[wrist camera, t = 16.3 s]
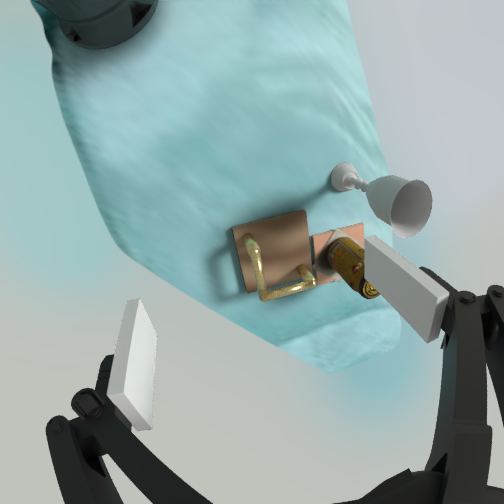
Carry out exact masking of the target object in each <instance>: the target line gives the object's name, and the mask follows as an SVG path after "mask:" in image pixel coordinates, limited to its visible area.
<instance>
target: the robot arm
mask: <svg viewBox="0 0 504 504" xmlns="http://www.w3.org/2000/svg"><path fill="white" fill-rule="evenodd" d="M33 1H35V2H36V3H38V4H39V5H41V6H43V7H44V8H46V9H47V10H49V11H50V12H52V13H53V14H55V15H56V16H58V19H59V23H60V27H61V30H62V32H63V33H64V35H65V36H66V37H67V38H68V39H69V40H70V41H72V42H73V43H75V44H76V45H78V46H81V47H83V48H88V49H103V48H108V47H112V46H115V45H117V44H120V43H122V42H124V41H126V40H128V39H129V38H131V37H132V36H134V35H135V34H136V33H138V32H139V31H140V30H141V29H142V28H143V27H144V26H145V25H146V24H147V23H148V21H149V20H150V18H151V17H152V15H153V13H154V11H155V9H156V6H157V2H158V0H33ZM364 245H365V274H364V278H365V279H366V280H367V281H368V282H369V283H370V284H371V285H372V286H373V287H374V288H375V289H376V290H377V291H378V292H379V293H380V294H381V295H382V296H383V297H384V298H385V299H386V300H387V301H388V302H389V303H390V304H391V305H392V307H393V308H394V309H395V310H396V311H397V312H398V313H399V314H400V315H401V316H402V317H403V318H404V319H405V320H406V321H407V322H408V323H409V324H410V325H411V326H412V328H413V329H414V330H415V331H416V332H417V333H418V334H419V335H420V336H421V337H422V338H423V340H424V341H425V342H426V343H429V342H431V341H433V340H435V339H437V338H438V337H439V333H440V329H442V330H443V331H444V332H445V335H444V339H443V342H442V345H441V349H442V348H443V368H442V381H441V392H440V400H439V408H438V416H437V422H436V429H435V434H434V440H433V445H432V450H431V454H430V457H429V460H428V462H427V464H426V467H425V470H424V471H417V472H411V471H410V469H409V468H408V469H407V470H405V471H403V472H401V473H399V474H397V475H395V476H393V477H391V478H389V479H387V480H385V481H384V482H382V483H381V484H380V485H378V486H377V487H376V488H375V489H373V490H372V491H371V492H369V493H368V494H366V495H365V496H364V497H362V498H361V499H358V500H353V501H348V502H341V503H334V504H504V489H502V488H497V487H493V486H488V485H487V480H488V473H489V466H490V456H491V446H492V445H491V444H492V427H491V426H488V425H487V373H486V363H487V366H488V369H489V373H490V375H491V379H492V382H493V386H494V389H495V393H496V397H497V400H498V404H499V408H500V412H501V416H502V421H503V426H504V288H503V287H502V286H499V285H492V286H490V287H489V288H488V290H487V294H486V295H482V296H476V295H475V294H473V293H471V292H469V291H460V292H458V291H457V290H456V289H454V288H453V287H452V286H451V285H449V284H448V283H447V282H445V281H444V280H443V279H441V278H440V277H439V276H437V275H436V274H435V273H434V272H433V271H431V270H430V269H427V268H425V267H419V268H418V267H417V266H416V265H414V264H413V263H411V262H410V261H409V260H408V259H406V258H405V257H404V256H402V255H401V254H400V253H398V252H397V251H396V250H394V249H393V248H392V247H390V246H389V245H388V244H386V243H385V242H383V241H382V240H381V239H379V238H378V237H376V236H372V237H368V238H364ZM156 342H157V335H156V332H155V330H154V328H153V326H152V324H151V322H150V320H149V317H148V315H147V313H146V311H145V309H144V307H143V304H142V302H141V300H140V298H138V299H134V300H130V301H127V304H126V308H125V312H124V316H123V320H122V324H121V328H120V332H119V337H118V341H117V345H116V350H115V354H113V355H107V356H106V357H105V358H104V360H103V361H102V363H101V365H100V369H99V374H98V380H97V382H96V387H95V390H93V389H91V388H85V389H82V390H80V391H79V392H77V393H76V394H75V395H74V397H73V399H72V401H71V406H72V409H73V410H74V411H75V412H76V413H77V414H78V416H79V417H77V418H75V419H72V420H69V421H68V420H67V419H66V418H65V417H64V416H60V415H59V416H55V417H53V418H52V419H50V421H49V422H48V423H47V426H46V436H47V441H48V446H49V450H50V454H51V458H52V463H53V466H54V470H55V474H56V477H57V481H58V484H59V487H60V491H61V494H62V497H63V500H64V502H65V504H124V503H123V501H122V500H121V498H120V495H119V493H118V491H117V489H116V487H115V485H114V483H113V481H112V479H111V477H110V475H109V472H108V470H107V468H106V466H105V463H104V461H103V459H102V455H105V454H109V456H110V457H111V458H112V459H113V460H114V462H115V463H116V464H117V465H118V466H119V468H120V469H121V470H122V471H123V472H124V473H125V475H126V476H127V477H128V478H129V479H130V480H131V481H132V482H133V483H134V485H135V486H136V487H137V488H138V489H139V490H140V491H141V492H142V493H143V494H144V495H145V496H146V497H147V498H148V499H149V500H150V501H151V502H152V503H153V504H213V503H211V502H210V501H209V500H207V499H206V498H205V497H203V496H202V495H201V494H199V493H198V492H197V491H196V490H194V489H193V488H192V487H191V486H189V485H188V484H187V483H185V482H184V481H183V480H182V479H181V478H180V477H178V476H177V475H176V474H175V473H174V472H173V471H171V470H170V469H169V468H168V467H167V466H166V465H165V464H163V462H161V461H160V460H159V459H158V458H157V457H156V456H155V455H154V454H153V453H152V452H151V451H150V450H149V449H148V448H147V447H146V446H145V445H143V443H142V442H141V441H140V440H138V438H137V437H136V436H135V435H134V434H133V433H132V432H131V427H132V426H133V427H134V428H135V429H136V430H137V431H142V430H151V429H153V396H154V374H155V373H154V372H155V355H156ZM443 346H444V347H443Z"/></svg>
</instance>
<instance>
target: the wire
mask: <svg viewBox="0 0 504 504" xmlns="http://www.w3.org/2000/svg"><path fill="white" fill-rule="evenodd" d="M242 240H243V242H244V245H245V247H246V249H247V251H248V254H249V255H250V256H251V261H252V266H253V270H254V275H255V280H256V284H257V289H258V294H259V298H260V300H261V301H262V302H265V301H269V300H272V299H276V298H280V297H283V296H287V295H290V294H293V293H297V292H300V291H304V290H307V289H310V288H314V287H315V286H316V285H317V280H316V278H315V277H314V276H313V274H312V273H311V272H310V271H309V269H308V268H307V267H306V265H305V264H299V265H298V266H297V268H296V270H297V272H298V273H299V275H300V276H301V278H302V279H303V282H299V283H296V284H293V285H289V286H285V287H282V288H278V289H275V290H271V291H268V292H267V287H266V282H265V277H264V271H263V266H262V261H261V256H260V253H261V249H260V247H259V246H258V244H257V242H256V240H255V238H254V236H253V235H252V234H251V233H245V234H244V235H243V237H242Z"/></svg>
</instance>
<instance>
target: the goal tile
mask: <svg viewBox="0 0 504 504" xmlns="http://www.w3.org/2000/svg"><path fill="white" fill-rule="evenodd" d="M339 229H340V230H341V231H343V232H345V233H346V234H348V235H349V236H351V237H352V238H354V239H355V240H357V241H358V242H360V243H361V244H363V245H364V224H363V223H359V224H355V225H351V226H347V227H343V228H339ZM335 231H336V230H332V231H328V232H324V233H320V234H316V235H312V239H313V249H314V259H315V261H316V259H317V258H318V256H319V255H320V253H321V252H322V250H323V249H324V247H325V245H326V244H327V242H328V241H329V239H330V238H331V236H332V235H333V233H334V232H335ZM362 248H363V249H364V246H363V247H362ZM316 280H317V285H321V284H325V283H328V282H331V281H334V279H332V278H330V277H328V276H326V275H324V274H322V273H320V272H318V271H316Z"/></svg>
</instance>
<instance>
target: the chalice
mask: <svg viewBox="0 0 504 504" xmlns="http://www.w3.org/2000/svg"><path fill="white" fill-rule="evenodd" d="M331 183H332V185H333V187H334V188H335V189H336V190H338V191H340V192H346V191H349V190H352V189H354V188H356V189H361V190H362V191H363V192H366V196H367V199H368V202H369V205H370V207H371V208H372V210H373V212H374V213H375V215H376V216H377V217H378V218H379V219H381V220H382V221H384V222H386V223H387V224H389V225H391V226H392V228H393V230H394V231H395V233H396V234H397V235H398V236H400V237H403V238H409V237H412V236H414V235H416V234H417V233H418V232H420V231H421V230H422V228H423V227H424V226H425V224H426V223H427V220H428V218H429V216H430V213H431V209H432V195H431V191H430V189H429V187H428V185H427V184H425V183H424V182H423V181H420V180H413V181H409V180H406V179H404V178H401V177H398V176H394V175H391V176H385V177H380V178H378V179H376V180H374V181H372V182H370V183H368V182H367V181H364V182H363V180H362V179H361V178H359V176H358V173H357V171H356V170H355V168H354V167H353V165H351V164H349V163H340V164H338V165H337V166H336V167H335V168H334V169H333V171H332V174H331Z"/></svg>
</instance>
